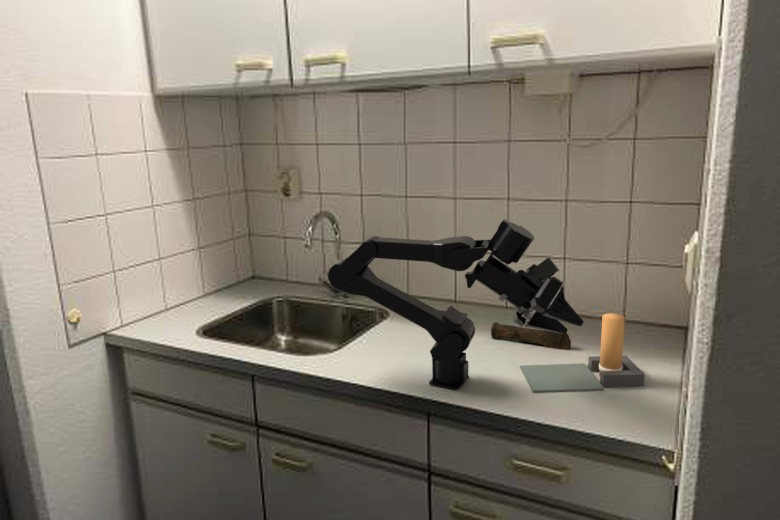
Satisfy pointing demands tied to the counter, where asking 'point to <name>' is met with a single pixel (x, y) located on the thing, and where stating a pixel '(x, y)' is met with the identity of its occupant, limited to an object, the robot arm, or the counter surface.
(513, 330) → the wooden log
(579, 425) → the counter surface
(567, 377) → the mat
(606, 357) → the orange peg
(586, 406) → the counter surface
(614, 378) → the dark grey piece
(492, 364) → the counter surface
